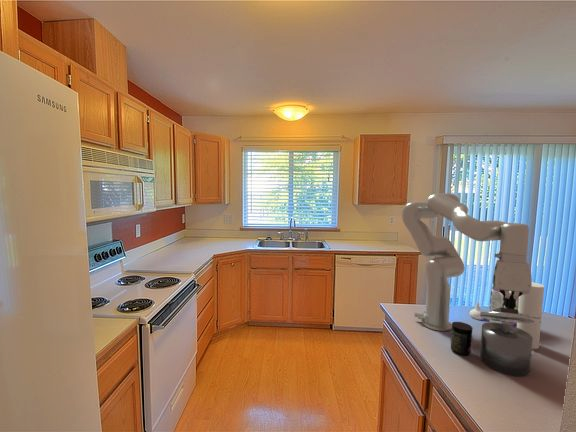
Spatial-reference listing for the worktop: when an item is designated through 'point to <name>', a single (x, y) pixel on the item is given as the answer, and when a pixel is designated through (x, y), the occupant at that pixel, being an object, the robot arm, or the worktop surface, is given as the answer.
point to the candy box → (500, 305)
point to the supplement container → (461, 338)
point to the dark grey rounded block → (506, 349)
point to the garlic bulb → (476, 312)
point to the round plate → (507, 316)
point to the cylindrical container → (532, 312)
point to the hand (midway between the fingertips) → (509, 308)
